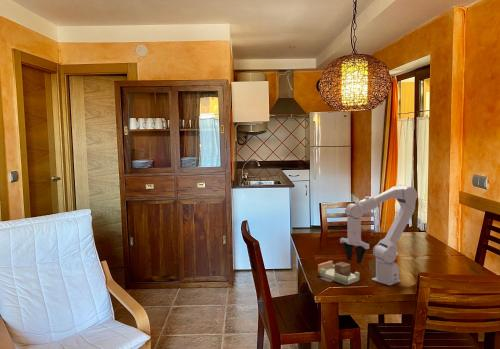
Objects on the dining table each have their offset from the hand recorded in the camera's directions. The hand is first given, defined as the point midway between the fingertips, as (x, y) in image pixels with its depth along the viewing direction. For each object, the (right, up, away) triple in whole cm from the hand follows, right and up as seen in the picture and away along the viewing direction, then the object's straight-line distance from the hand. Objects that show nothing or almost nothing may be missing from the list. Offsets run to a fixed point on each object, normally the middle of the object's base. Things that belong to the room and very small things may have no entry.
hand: (354, 261), depth 171 cm
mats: (-5, -9, +9) cm, 14 cm away
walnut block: (-4, -8, +6) cm, 10 cm away
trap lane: (-5, -9, +9) cm, 14 cm away
